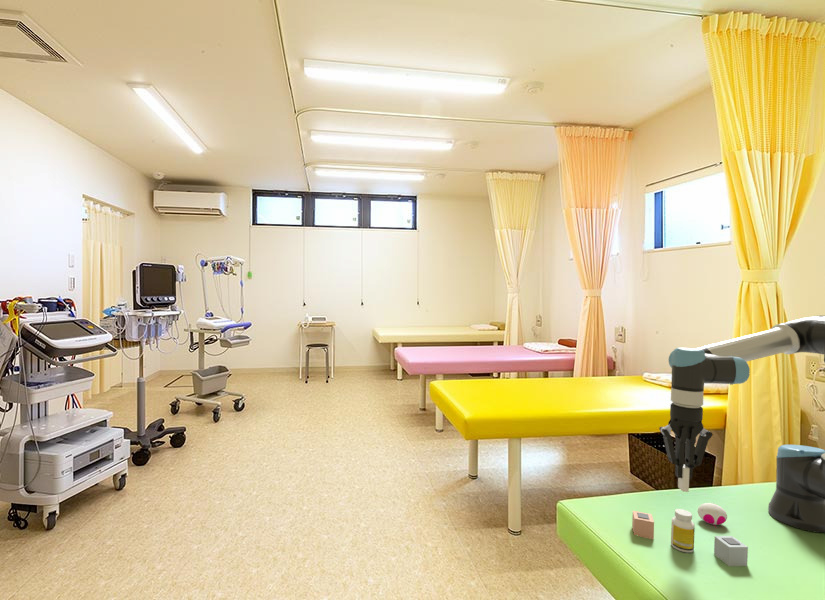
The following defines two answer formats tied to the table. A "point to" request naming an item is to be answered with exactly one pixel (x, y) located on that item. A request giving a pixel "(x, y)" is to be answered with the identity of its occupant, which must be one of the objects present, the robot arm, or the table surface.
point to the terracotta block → (643, 524)
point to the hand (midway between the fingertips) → (683, 489)
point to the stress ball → (712, 513)
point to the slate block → (730, 551)
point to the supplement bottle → (682, 531)
